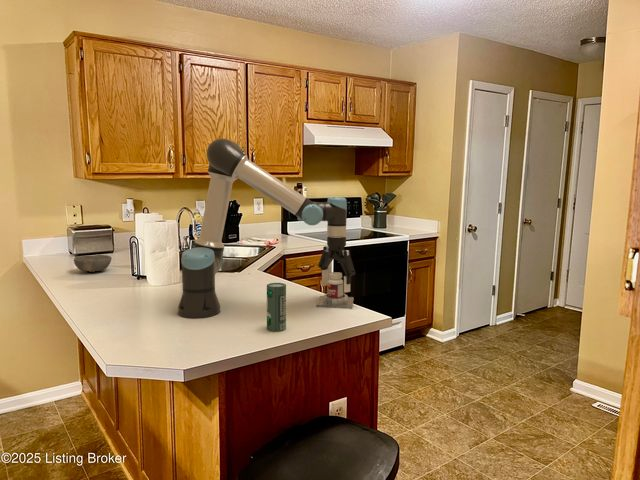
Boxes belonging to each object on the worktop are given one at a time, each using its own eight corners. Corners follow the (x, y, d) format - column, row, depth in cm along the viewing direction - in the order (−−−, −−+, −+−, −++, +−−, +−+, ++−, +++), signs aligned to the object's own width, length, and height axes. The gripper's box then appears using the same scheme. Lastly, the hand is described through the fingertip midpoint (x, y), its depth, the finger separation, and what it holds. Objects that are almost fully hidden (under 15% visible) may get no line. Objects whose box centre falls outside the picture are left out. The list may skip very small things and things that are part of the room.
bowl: (111, 274, 238) (110, 258, 237) (72, 276, 232) (71, 260, 231) (112, 267, 255) (112, 253, 254) (76, 269, 248) (75, 254, 247)
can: (272, 324, 161) (272, 282, 159) (288, 327, 159) (288, 283, 157) (264, 330, 155) (263, 285, 153) (280, 332, 153) (280, 287, 151)
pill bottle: (324, 301, 189) (324, 273, 187) (334, 298, 194) (333, 271, 192) (337, 303, 185) (336, 275, 184) (346, 300, 190) (346, 273, 188)
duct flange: (352, 308, 182) (352, 300, 182) (316, 306, 183) (316, 299, 183) (353, 299, 196) (353, 292, 195) (320, 297, 197) (320, 290, 197)
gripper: (365, 239, 179) (364, 293, 181) (324, 232, 198) (323, 281, 201) (350, 240, 174) (349, 296, 177) (310, 233, 193) (309, 284, 196)
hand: (335, 288), depth 189 cm, fingers open, 13 cm apart
